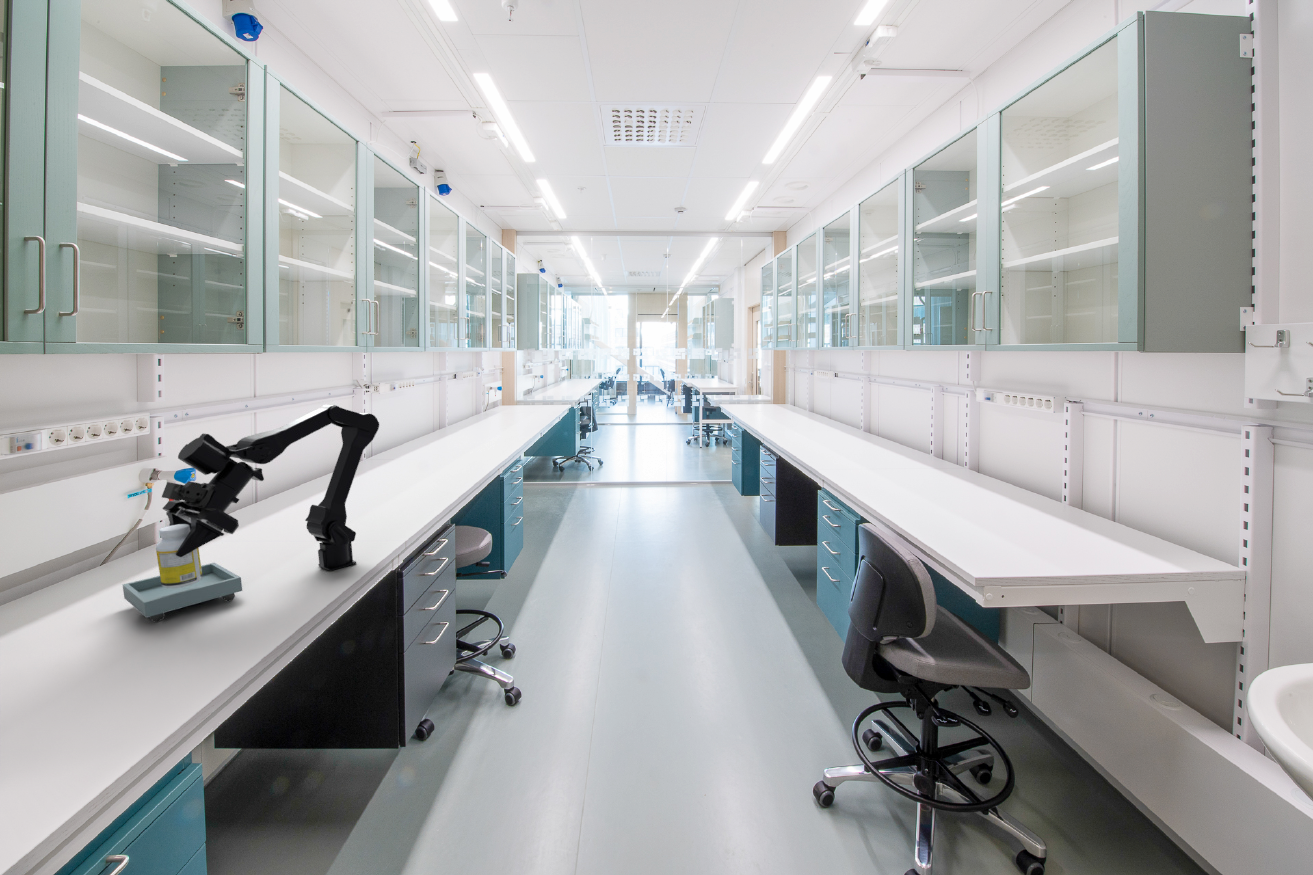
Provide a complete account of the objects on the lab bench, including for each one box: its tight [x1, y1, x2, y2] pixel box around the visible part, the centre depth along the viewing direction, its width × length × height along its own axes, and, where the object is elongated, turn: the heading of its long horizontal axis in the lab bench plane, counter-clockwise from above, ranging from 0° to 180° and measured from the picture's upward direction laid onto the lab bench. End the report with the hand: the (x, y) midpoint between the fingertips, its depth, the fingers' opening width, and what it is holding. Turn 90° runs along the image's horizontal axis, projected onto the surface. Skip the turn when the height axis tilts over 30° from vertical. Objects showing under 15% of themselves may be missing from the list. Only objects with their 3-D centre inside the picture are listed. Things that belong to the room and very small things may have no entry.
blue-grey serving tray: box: [121, 562, 243, 623], centre depth 124 cm, size 16×16×5 cm
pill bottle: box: [155, 524, 202, 588], centre depth 117 cm, size 6×6×12 cm
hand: (169, 553), depth 116 cm, fingers closed on pill bottle, 6 cm apart
